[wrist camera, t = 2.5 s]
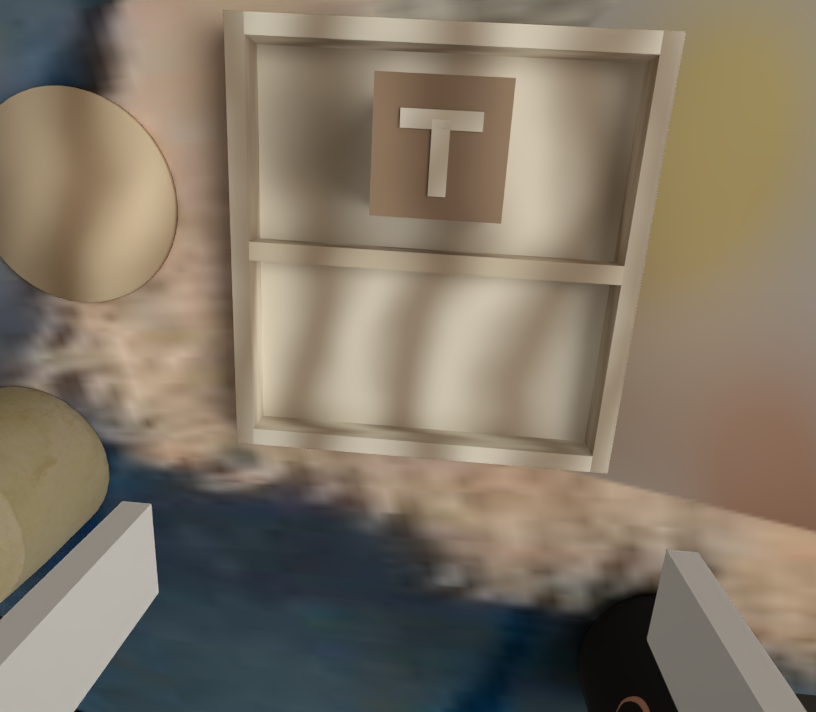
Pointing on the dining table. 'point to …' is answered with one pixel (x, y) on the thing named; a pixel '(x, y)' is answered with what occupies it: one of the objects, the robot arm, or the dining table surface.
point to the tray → (440, 242)
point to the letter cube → (440, 146)
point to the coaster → (82, 195)
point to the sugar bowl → (43, 480)
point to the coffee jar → (623, 662)
